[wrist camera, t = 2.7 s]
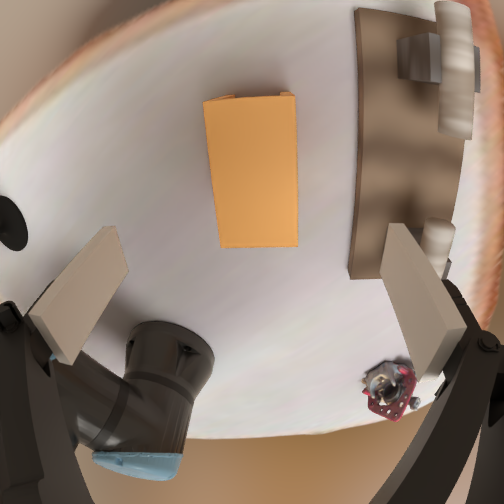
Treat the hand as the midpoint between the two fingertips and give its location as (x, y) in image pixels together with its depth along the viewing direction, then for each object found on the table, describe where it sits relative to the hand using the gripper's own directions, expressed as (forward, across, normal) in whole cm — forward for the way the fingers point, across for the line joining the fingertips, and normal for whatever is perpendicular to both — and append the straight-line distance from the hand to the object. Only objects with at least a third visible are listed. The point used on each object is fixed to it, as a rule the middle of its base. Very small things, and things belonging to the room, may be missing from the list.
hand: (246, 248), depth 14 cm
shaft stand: (+19, -16, 0) cm, 24 cm away
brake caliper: (+19, -22, +38) cm, 48 cm away
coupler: (+19, 0, 0) cm, 19 cm away
